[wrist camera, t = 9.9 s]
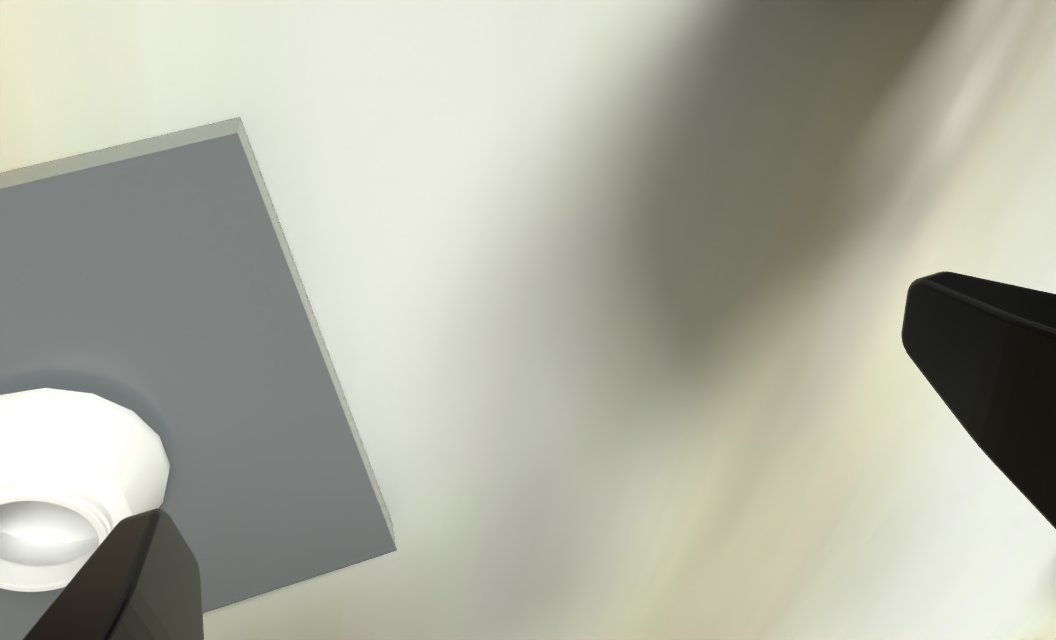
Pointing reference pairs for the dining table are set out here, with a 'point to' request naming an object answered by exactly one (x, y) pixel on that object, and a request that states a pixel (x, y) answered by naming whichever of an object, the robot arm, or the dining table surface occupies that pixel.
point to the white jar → (69, 481)
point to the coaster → (189, 353)
